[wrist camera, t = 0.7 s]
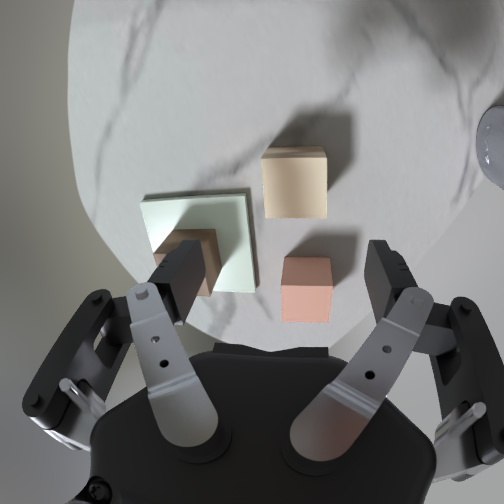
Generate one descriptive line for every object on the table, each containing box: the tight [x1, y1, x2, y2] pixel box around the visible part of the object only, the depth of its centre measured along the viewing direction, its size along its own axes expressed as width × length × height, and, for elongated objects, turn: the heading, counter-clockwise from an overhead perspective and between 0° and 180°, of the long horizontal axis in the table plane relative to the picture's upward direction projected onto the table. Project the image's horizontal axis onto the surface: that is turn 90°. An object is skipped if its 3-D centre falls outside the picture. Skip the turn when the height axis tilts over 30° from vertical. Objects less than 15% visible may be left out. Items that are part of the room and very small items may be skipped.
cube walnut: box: [153, 229, 222, 297], centre depth 28 cm, size 5×5×5 cm
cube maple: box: [261, 147, 327, 218], centre depth 23 cm, size 5×5×5 cm
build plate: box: [140, 193, 256, 293], centre depth 31 cm, size 12×12×1 cm
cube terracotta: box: [281, 257, 333, 322], centre depth 29 cm, size 5×5×5 cm
